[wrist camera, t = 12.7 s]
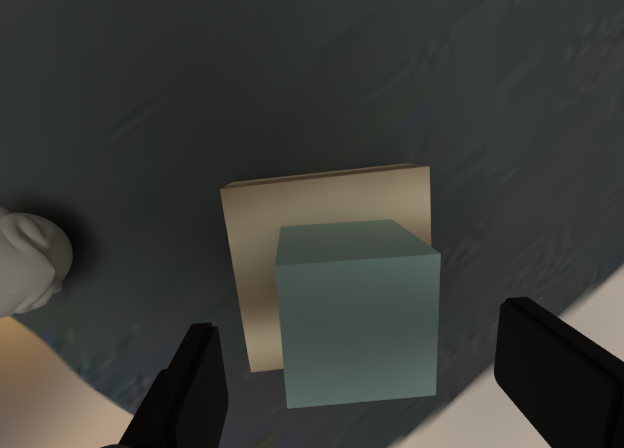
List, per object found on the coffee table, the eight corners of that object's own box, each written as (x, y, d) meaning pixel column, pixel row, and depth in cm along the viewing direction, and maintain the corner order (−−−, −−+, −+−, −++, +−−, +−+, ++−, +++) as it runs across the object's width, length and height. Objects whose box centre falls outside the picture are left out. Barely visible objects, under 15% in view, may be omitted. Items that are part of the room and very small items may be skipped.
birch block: (234, 181, 21) (219, 189, 17) (404, 162, 21) (429, 166, 17) (258, 334, 23) (251, 372, 19) (410, 316, 24) (433, 350, 20)
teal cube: (280, 226, 17) (274, 266, 12) (391, 219, 18) (440, 253, 12) (289, 327, 19) (287, 408, 13) (392, 319, 19) (435, 395, 13)
